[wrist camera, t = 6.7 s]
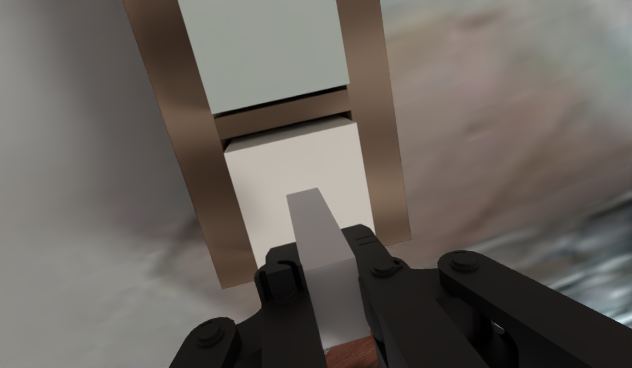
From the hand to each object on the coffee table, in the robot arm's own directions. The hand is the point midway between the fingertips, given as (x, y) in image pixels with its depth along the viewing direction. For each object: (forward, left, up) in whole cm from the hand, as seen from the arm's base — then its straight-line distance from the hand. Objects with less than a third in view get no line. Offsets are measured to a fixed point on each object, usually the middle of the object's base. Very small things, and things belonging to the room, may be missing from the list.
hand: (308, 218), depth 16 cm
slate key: (+9, 0, -8) cm, 12 cm away
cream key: (0, 0, -8) cm, 8 cm away
